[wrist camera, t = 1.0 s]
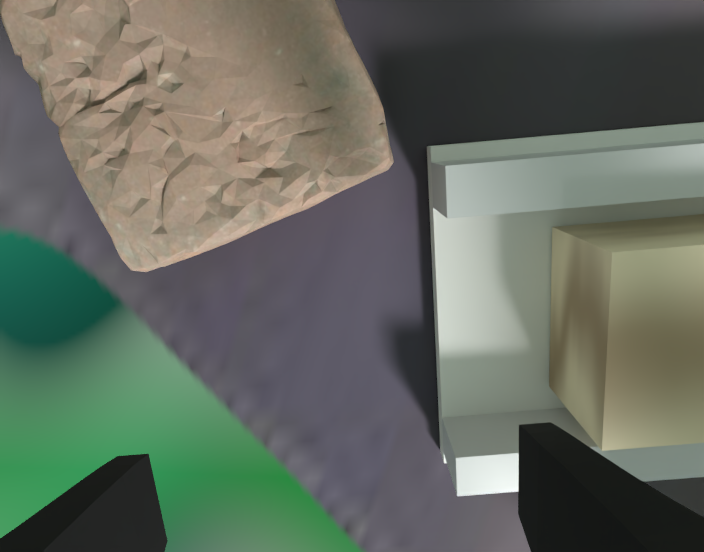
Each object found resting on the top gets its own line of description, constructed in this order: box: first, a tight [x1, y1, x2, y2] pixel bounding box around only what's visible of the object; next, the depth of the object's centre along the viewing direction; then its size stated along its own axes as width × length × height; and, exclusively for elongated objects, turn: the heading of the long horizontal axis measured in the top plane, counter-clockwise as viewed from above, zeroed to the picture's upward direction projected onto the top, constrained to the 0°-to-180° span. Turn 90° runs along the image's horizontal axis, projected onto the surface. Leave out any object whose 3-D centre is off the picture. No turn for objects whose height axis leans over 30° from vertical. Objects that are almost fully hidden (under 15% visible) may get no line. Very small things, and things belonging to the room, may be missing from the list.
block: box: [549, 214, 704, 451], centre depth 16 cm, size 6×8×4 cm
